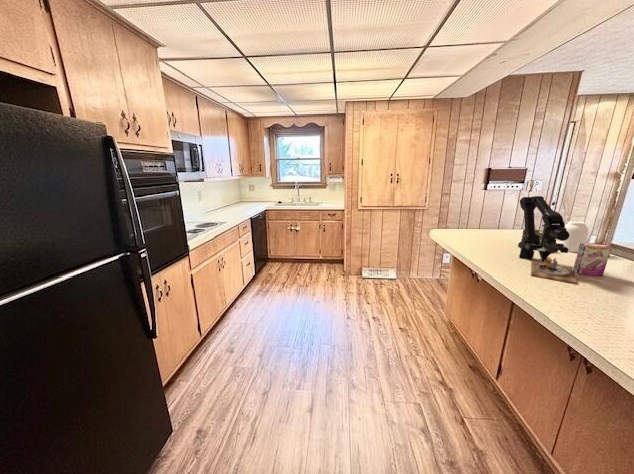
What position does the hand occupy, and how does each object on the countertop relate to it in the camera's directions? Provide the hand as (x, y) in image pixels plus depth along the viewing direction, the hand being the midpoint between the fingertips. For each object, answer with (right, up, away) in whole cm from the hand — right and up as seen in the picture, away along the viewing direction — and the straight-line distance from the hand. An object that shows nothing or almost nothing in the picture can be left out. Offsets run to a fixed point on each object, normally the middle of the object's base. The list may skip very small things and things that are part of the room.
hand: (542, 261), depth 155 cm
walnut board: (-1, -5, -7) cm, 9 cm away
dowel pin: (+6, -3, 0) cm, 6 cm away
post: (-2, -5, -8) cm, 10 cm away
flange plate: (-1, -4, -6) cm, 7 cm away
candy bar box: (+16, -6, -10) cm, 20 cm away
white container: (+44, +5, +29) cm, 53 cm away
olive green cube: (+22, +7, +37) cm, 44 cm away
